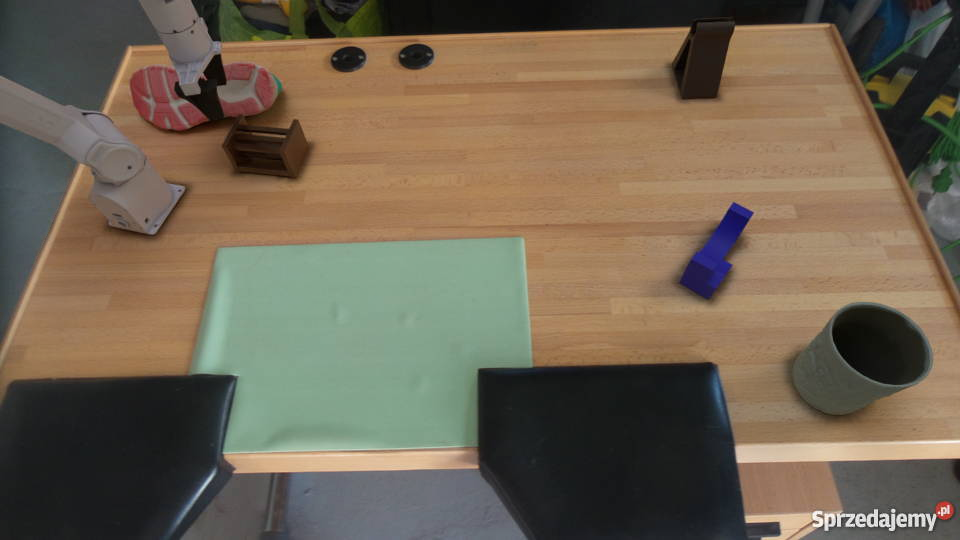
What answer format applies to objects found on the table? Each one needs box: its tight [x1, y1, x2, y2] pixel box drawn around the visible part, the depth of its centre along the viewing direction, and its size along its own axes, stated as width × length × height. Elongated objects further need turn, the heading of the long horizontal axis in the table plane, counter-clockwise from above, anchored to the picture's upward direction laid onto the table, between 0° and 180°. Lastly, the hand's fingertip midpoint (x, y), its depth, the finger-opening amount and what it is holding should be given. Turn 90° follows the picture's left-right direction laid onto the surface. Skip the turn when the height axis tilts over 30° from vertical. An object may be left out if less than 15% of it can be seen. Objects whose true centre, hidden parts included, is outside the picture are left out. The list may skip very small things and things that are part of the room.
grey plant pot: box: [791, 301, 934, 416], centre depth 65 cm, size 10×10×12 cm
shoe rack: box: [221, 114, 310, 179], centre depth 91 cm, size 7×10×6 cm
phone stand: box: [670, 16, 736, 99], centre depth 95 cm, size 9×6×12 cm, turn 1°
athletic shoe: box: [129, 61, 283, 131], centre depth 97 cm, size 27×9×12 cm
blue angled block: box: [678, 201, 755, 301], centre depth 78 cm, size 12×4×6 cm, turn 141°
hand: (218, 101), depth 87 cm, fingers open, 7 cm apart
